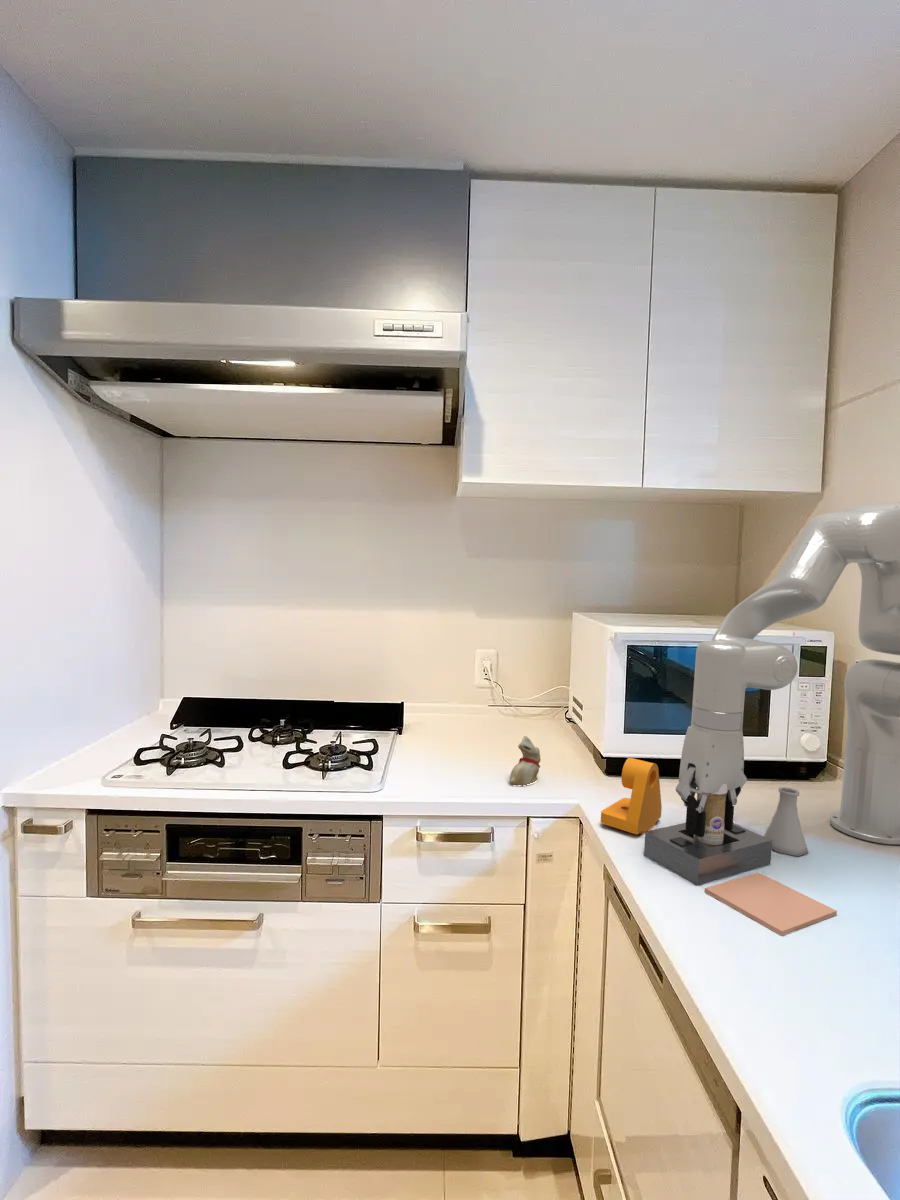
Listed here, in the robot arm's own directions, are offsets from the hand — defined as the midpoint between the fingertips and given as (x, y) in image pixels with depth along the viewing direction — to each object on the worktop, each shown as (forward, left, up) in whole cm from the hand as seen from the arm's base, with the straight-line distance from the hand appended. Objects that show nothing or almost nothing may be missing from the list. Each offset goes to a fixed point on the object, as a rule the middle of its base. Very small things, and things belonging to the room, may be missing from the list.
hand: (709, 829), depth 103 cm
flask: (-17, +2, -5) cm, 18 cm away
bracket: (+1, -16, -5) cm, 17 cm away
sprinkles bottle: (0, 0, -5) cm, 5 cm away
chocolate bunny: (+6, -42, -5) cm, 43 cm away
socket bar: (0, 0, -5) cm, 5 cm away
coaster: (+3, +13, -5) cm, 14 cm away
